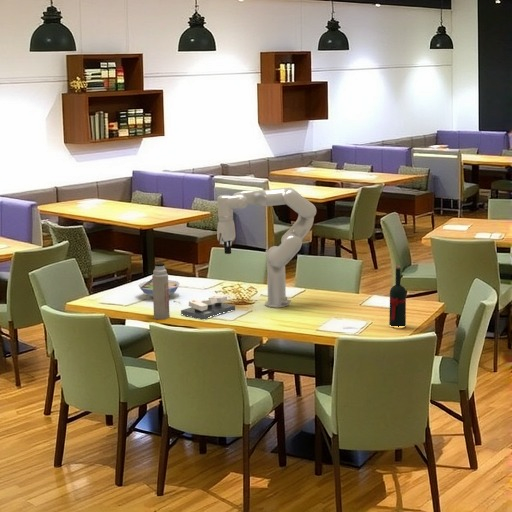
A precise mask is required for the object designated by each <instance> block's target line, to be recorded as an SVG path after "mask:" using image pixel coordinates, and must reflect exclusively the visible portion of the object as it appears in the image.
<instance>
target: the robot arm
mask: <svg viewBox="0 0 512 512" xmlns="http://www.w3.org/2000/svg"><path fill="white" fill-rule="evenodd" d="M216 200H217V201H216V202H217V213H218V214H217V216H218V222H217V227H216V228H217V229H216V230H217V231H216V232H217V234H216V235H217V238H216V239H217V241H218V242H219V245H223V247H224V248H223V249H224V254H225V255H231V254H232V244H233V242H234V241H235V240H236V227H235V225H236V224H235V221H234V211H233V210H242V209H245V208H247V206H254V205H255V206H263V207H271V206H272V207H273V206H282V205H284V206H285V205H286V206H287V207H289V208H290V209H292V210H293V211H294V212H295V213H297V214H298V216H297V219H296V221H295V222H294V223H293V225H292V226H291V227H290V228H289V229H288V230H287V231H286V232H285V233H283V235H282V236H281V240H280V241H281V243H280V244H279V245H278V246H277V245H273V246H271V247H269V249H268V250H267V251H266V268H267V269H266V271H267V274H266V275H267V280H266V281H267V301H265V303H264V306H266V307H268V308H274V307H275V309H276V308H285V306H286V307H288V306H289V305H290V304H291V301H292V300H290V299H288V296H286V295H287V294H286V293H287V292H286V291H287V290H286V265H287V264H288V263H289V262H290V261H291V260H292V259H293V258H294V257H295V256H296V255H297V254H298V252H299V251H300V250H301V248H302V245H303V239H304V238H305V236H306V235H307V234H308V233H309V232H310V231H311V228H312V227H313V225H314V220H315V216H316V215H317V208H316V206H315V205H314V204H313V203H312V202H311V201H309V200H308V199H307V198H306V197H304V196H303V195H302V194H301V193H299V192H298V191H297V190H296V189H294V188H292V187H281V188H273V189H262V190H261V189H260V190H248V191H247V190H245V191H237V192H235V193H233V194H232V195H230V194H220V195H219V196H218V197H217V199H216Z"/></svg>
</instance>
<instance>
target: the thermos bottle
mask: <svg viewBox="0 0 512 512" xmlns="http://www.w3.org/2000/svg"><path fill="white" fill-rule="evenodd" d="M152 273H153V274H151V275H152V277H151V279H152V282H153V297H152V301H153V306H152V307H153V319H156V320H166V319H169V318H170V314H171V313H170V295H169V287H168V280H169V273H167V269H166V268H165V263H164V262H163V263H162V262H158V263H157V262H156V263H154V269H153V271H152Z"/></svg>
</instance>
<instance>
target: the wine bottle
mask: <svg viewBox="0 0 512 512" xmlns="http://www.w3.org/2000/svg"><path fill="white" fill-rule="evenodd" d="M406 313H407V290H406V288H405V287H404V286H403V285H402V284H401V265H396V266H395V285H393V286H392V287H391V288H390V290H389V317H388V319H389V320H388V321H389V323H388V325H391V326H398V327H399V326H405V325H406V326H407V323H406V321H407V320H406V318H407V317H406V315H407V314H406Z"/></svg>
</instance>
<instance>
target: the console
mask: <svg viewBox="0 0 512 512" xmlns="http://www.w3.org/2000/svg"><path fill="white" fill-rule="evenodd" d="M231 310H234V311H236V305H234V304H230V303H225V302H223V303H215V304H211V305H208V308H207V310H203V311H200V310H198V309H195V308H193V307H187V308H184V309H181V310H180V315H181V314H183V315H188V316H192V317H191V318H193V317H196V318H195V319H197V318H200V319H199V320H202V319H205V320H207V319H206V318H208V317H210V316H213V315H217V314H219V313H223V312H227V311H231ZM231 312H232V311H231ZM183 315H182V316H183ZM188 316H187V317H188ZM208 319H209V318H208Z"/></svg>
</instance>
